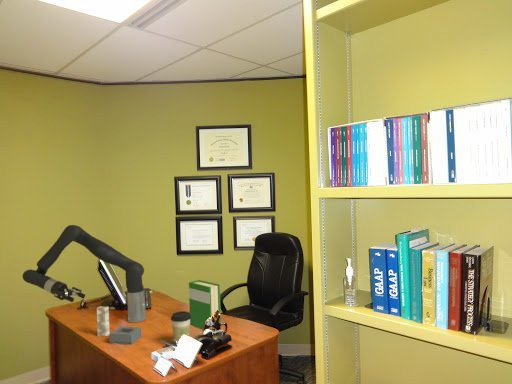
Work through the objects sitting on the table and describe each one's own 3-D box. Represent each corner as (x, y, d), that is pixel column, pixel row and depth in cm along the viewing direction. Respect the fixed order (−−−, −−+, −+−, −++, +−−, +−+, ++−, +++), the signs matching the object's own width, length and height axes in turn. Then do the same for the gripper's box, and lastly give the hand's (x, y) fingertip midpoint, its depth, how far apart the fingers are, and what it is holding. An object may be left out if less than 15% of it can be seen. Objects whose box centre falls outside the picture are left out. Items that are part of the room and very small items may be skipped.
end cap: (109, 343, 190) (109, 333, 190) (120, 335, 200) (120, 326, 200) (131, 344, 187) (131, 334, 187) (141, 336, 197) (141, 327, 197)
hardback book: (221, 328, 206) (219, 284, 206) (210, 332, 201) (209, 287, 201) (200, 321, 218) (199, 279, 218) (190, 324, 213) (188, 282, 212)
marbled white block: (97, 336, 200) (96, 308, 200) (101, 334, 203) (100, 306, 203) (106, 336, 199) (105, 308, 199) (109, 334, 202) (108, 306, 202)
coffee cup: (191, 348, 181) (190, 317, 181) (170, 349, 181) (169, 318, 180) (192, 339, 191) (191, 310, 191) (173, 341, 190) (172, 311, 190)
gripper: (47, 283, 202) (71, 294, 198) (67, 278, 215) (89, 289, 211) (43, 296, 202) (67, 308, 198) (63, 291, 216) (86, 301, 212)
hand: (79, 298), depth 205 cm, fingers open, 8 cm apart
